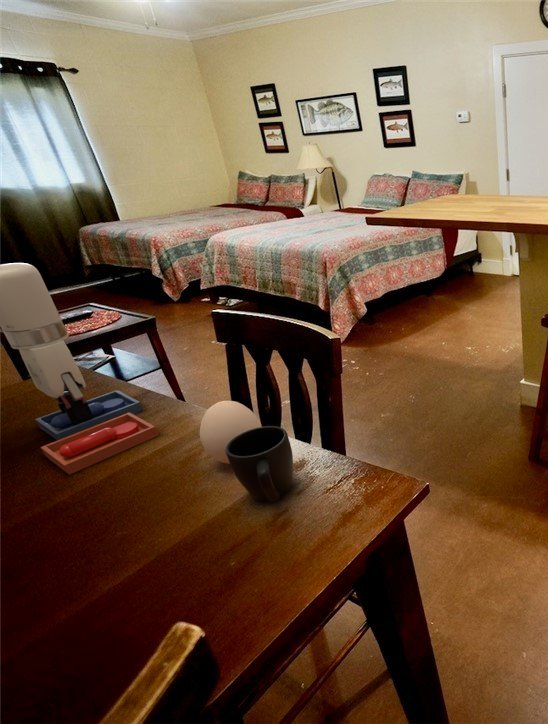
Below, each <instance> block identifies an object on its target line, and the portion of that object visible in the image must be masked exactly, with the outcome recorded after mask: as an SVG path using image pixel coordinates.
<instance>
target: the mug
mask: <svg viewBox="0 0 548 724" xmlns="http://www.w3.org/2000/svg"><path fill="white" fill-rule="evenodd" d="M225 451H226V454H227V457H228V460H229V463H228V464H229V465H230V468H231V471H232V472H233V474H234V476H235V477H236V479H237V480H238V482H239V483H240V484H241V486H242V487H243V488H244V489H245V490H246V491H247V492H248V493H249V494H250V495H251V497H252V499H254V500H255V501H256V502H260V503H268V502H272V503H274V502H277V501H278V500H279V499H280V498H282V497H284V496H285V495H287V494H288V493H289V492H290V491H291V488H292V487H293V474H294V455H293V449H292V445H291V442H290V438H289V434H288V432H287V430H286V429H285V428H283V427H281V426H276V425H266V426H265V425H264V426H261V427H259V428H255V429H251V430H248V431H246V432H243V433H241V434H240V435H238V436H236V437H235V438H233V439H232V440H231V441H230V442H229V443H228V444H227V446H226V450H225Z"/></svg>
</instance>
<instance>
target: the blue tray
mask: <svg viewBox="0 0 548 724" xmlns="http://www.w3.org/2000/svg"><path fill="white" fill-rule="evenodd" d="M112 399H123V400H124V402H125V405H126V406H125V407H122V408H120V409H117V410H115V411H112V412H109V413H101V414H98V415H96V416H94V419H91V420H88V421H86V422H83V423H81V424H78V425H75V426H74V425H69V426H66V427H64V428H55V427H53V426H52V424H51V421H52V419H53V418H54V417H56V416H59V415H62V412H61V410H60V409H59V410H56V411H54V412H51V413H48V414H46V415H42V416H40V417H37V418H35V419H34V420H35V422H36V424H37V426H38V427H39V429H40V430H42V431H43V432H44V433H46V434H48V435H49V436H50V437H51V438H53V439H54V440H56V441H58V440H60V439H63V438H65V437H68V436H70V435H73V434H76V433H78V432H81V431H83V430H86V429H88V428H91V427H93V426H96V425H98V424H101V423H104V422H106V421H109V420H111V419H114V418H116V417H119V416H121V415H124V414H126V413H131V414H133V415H135V414H137V413H140V412H142V411H144V407H143V406H142V403H141V401H139V400H137V399H135V398H133V397H131V396H129V395H127V394H126V393H123V392H122V391H120V390H118V389H116V390H113V391H110V392H108V393H105V394H102V395H99V396H96V397H93V398H91V399H88V400H86V402H87V404H88V405H90V404H93V403H103V402H105V401H108V400H112Z"/></svg>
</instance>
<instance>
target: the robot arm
mask: <svg viewBox="0 0 548 724" xmlns="http://www.w3.org/2000/svg"><path fill="white" fill-rule="evenodd" d="M49 292H50V291H49V290H48V288H47V286H46V284H45V282H44V279H43V277H42V275H41V273H40V272H39V270H38V269H37V267H35V266H34V265H32V264H29V263H24V262H13V263H11V262H10V263H2V264H0V329H1V330H2V332H3V334H4V336H5V338H6V339H7V341H8V343H9V345H10V347H11V349H13V350H18V351H19V354H20V355H21V359H22V361H23V363H24V365H25V367H26V369H27V372H28V373H29V376H30V378H31V380H32V382H33V384H34V386H35V388H36V389H37V390H39V391H40V392H42V393H43V394H45V395H47V396H48V397H51V398H52V399H55V401H56V403H58V404H57V406H58V408H59V411H60V410H61V412H62V414H65V413H67V415H68V417H69V419H70V421H71V423H72V425H74V426H75V425H78V424H81V423H83V422H86V421H88V420H91V419H94V416H93V414H92V412H91V410H90V408H89V406H88V404H87V402H86V401H87V400H86V398H85V397H84V394H83V392H82V390H85V389H86V387H87V384H86V381H85V379H84V377H83V374H82V372H81V370H80V368H79V366H78V364H77V362H76V360H75V358H74V356H73V355H72V353H71V350H70V349H69V347H68V346H67V344H66V342H65V341H64V340H66V339H68V338H69V337H70V335H69V333H68V331H67V328H66V326H65V324H64V322H63V319H62V318H61V316H60V313H59V311H58V309H57V306H56V305H55V303H54V301H53V298H52V296H51V294H50V293H49Z"/></svg>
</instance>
